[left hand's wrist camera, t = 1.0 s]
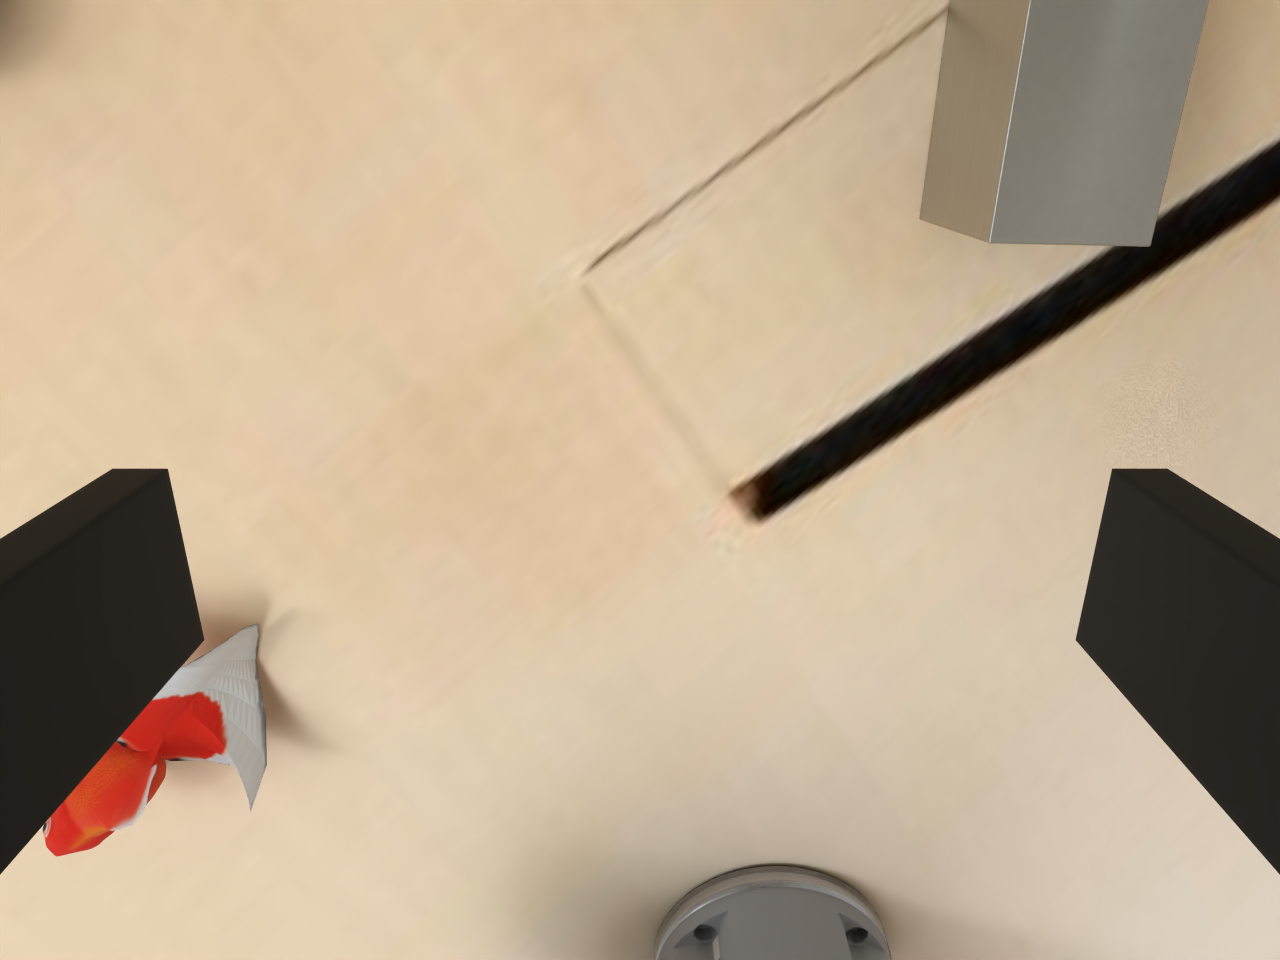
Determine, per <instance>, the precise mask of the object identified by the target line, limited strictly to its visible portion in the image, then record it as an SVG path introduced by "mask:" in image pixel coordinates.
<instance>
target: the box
mask: <svg viewBox="0 0 1280 960" xmlns="http://www.w3.org/2000/svg"><path fill="white" fill-rule="evenodd" d="M1208 1H1209V0H950V2H949V10H948V17H947V24H946V31H945V39H944V46H943V53H942V60H941V68H940V75H939V82H938V89H937V97H936V104H935V111H934V118H933V126H932V133H931V140H930V148H929V155H928V162H927V169H926V177H925V184H924V191H923V198H922V206H921V213H920V219H921V220H923V221H926V222H929V223H932V224H935V225H938V226H941V227H944V228H947V229H950V230H953V231H956V232H959V233H962V234H965V235H967V236H970V237H973V238H976V239H979V240H982V241H985V242H988V243H1010V244H1057V245H1104V246H1150V245H1151V241H1152V237H1153V232H1154V228H1155V224H1156V220H1157V216H1158V211H1159V207H1160V203H1161V199H1162V195H1163V190H1164V186H1165V182H1166V178H1167V174H1168V169H1169V165H1170V161H1171V157H1172V153H1173V148H1174V144H1175V140H1176V136H1177V131H1178V127H1179V123H1180V119H1181V115H1182V110H1183V106H1184V102H1185V98H1186V94H1187V89H1188V85H1189V81H1190V77H1191V73H1192V68H1193V64H1194V60H1195V56H1196V52H1197V47H1198V43H1199V39H1200V35H1201V31H1202V26H1203V22H1204V18H1205V14H1206V10H1207V5H1208Z"/></svg>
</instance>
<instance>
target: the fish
mask: <svg viewBox="0 0 1280 960" xmlns="http://www.w3.org/2000/svg"><path fill="white" fill-rule="evenodd" d="M258 635H259V627H258V624H255V625H252V626H248V627H245V628H243V629H242V630H240V631H239V632H237V633H236V634H234V635H233V636H232V637H230V638H229V639H228V640H226V641H225V642H224V643H222V644H221V645H219V646H218V647H216V648H215V649H213V650H211V651H210V652H208V653H206V654H205V655H203V656H201V657H199V658H198V659H196V660H194V661H193V662H191V663H189V664H187V665H186V666H183V667H180V668H179V670H178V671H177V672H176V673H175V674H174V675H173V676H172V678H171V679H170V680H169V681H168V682H167V683H166V685H165V686H164V687H163V688H162V689H161V690H160V691H159V693H158V694H157V695H156V696H155V697H154V698H153V699H152V701H151V702H150V703H149V704H148V705H147V706H146V708H145V709H144V710H143V711H142V712H141V713H140V714H139V716H138V717H137V718H136V719H135V720H134V721H133V722H132V724H131V725H130V726H129V727H128V728H127V729H126V730H125V732H124V733H123V734H122V735H121V736H120V737H119V739H118V740H117V741H116V742H115V743H114V744H113V745H112V747H111V748H110V749H109V750H108V751H107V752H106V753H105V755H104V756H103V757H102V758H101V759H100V760H99V762H98V763H97V764H96V765H95V766H94V767H93V768H92V770H91V771H90V772H89V773H88V774H87V775H86V776H85V778H84V779H83V780H82V781H81V782H80V783H79V784H78V786H77V787H76V788H75V789H74V790H73V791H72V793H71V794H70V795H69V796H68V797H67V798H66V799H65V801H64V802H63V803H62V804H61V805H60V806H59V807H58V809H57V810H56V811H55V812H54V813H53V814H52V815H51V817H50V818H49V819H48V820H47V821H46V822H45V824H44V826H43V834H44V837H45V841H46V846H47V848H48V849H49V850H50V851H51V852H52V853H53V854H54V855H55V856H62V855H66V854H70V853H74V852H79V851H84V850H88V849H92V848H94V847H95V846H97V845H99V844H100V843H101V842H102V841H103V840H104V839H105V838H107V837H108V836H109V835H111V834H112V833H113V832H114V831H115V830H118V829H122V828H125V827H128V826H131V825H132V824H133V823H134V822H135V821H136V820H137V819H138V818H139V817H140V815H141V813H142V812H143V810H144V808H145V806H146V804H147V803H148V802H149V801H150V800H151V798H152V797H153V796H154V794H155V793H156V791H157V790H158V788H159V786H160V785H161V783H162V781H163V780H164V778H165V774H166V763H165V760H164V759H166V760H169V761H186V760H208V761H212V762H216V763H221V764H227V765H232V766H233V767H234V768H235V769H236V771H237V772H238V774H239V776H240V777H241V779H242V781H243V784H244V787H245V789H246V793H247V796H248V799H249V805H250V811H251V809H252V806H253V803H254V800H255V797H256V794H257V792H258V789H259V786H260V783H261V780H262V777H263V774H264V771H265V768H266V765H267V752H266V716H265V711H264V705H263V699H262V694H261V688H260V682H259V676H258V670H257V664H256V655H257V648H258Z"/></svg>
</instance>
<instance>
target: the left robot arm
mask: <svg viewBox="0 0 1280 960" xmlns="http://www.w3.org/2000/svg"><path fill="white" fill-rule="evenodd" d="M203 641H204V636H203V632H202V627H201V622H200V618H199V613H198V608H197V603H196V599H195V594H194V589H193V585H192V580H191V575H190V571H189V566H188V561H187V557H186V552H185V547H184V543H183V538H182V533H181V529H180V524H179V519H178V515H177V510H176V505H175V500H174V496H173V491H172V486H171V482H170V477H169V472H168V469H111V470H110V471H108V472H107V473H105V474H103V475H102V476H100V477H99V478H97V479H95V480H94V481H92V482H91V483H89V484H87V485H86V486H84V487H83V488H81V489H79V490H78V491H76V492H75V493H73V494H71V495H70V496H68V497H67V498H65V499H63V500H62V501H60V502H59V503H57V504H55V505H54V506H52V507H51V508H49V509H47V510H46V511H44V512H43V513H41V514H39V515H38V516H36V517H35V518H33V519H31V520H30V521H28V522H27V523H25V524H23V525H22V526H20V527H19V528H17V529H15V530H14V531H12V532H11V533H9V534H7V535H6V536H4V537H3V538H1V539H0V874H1V873H2V872H3V871H4V869H5V868H6V867H7V866H8V865H9V864H10V863H11V861H12V860H13V859H14V858H15V857H16V856H17V855H18V853H19V852H20V851H21V850H22V849H23V848H24V847H25V845H26V844H27V843H28V842H29V841H30V840H31V838H32V837H33V836H34V835H35V834H36V833H37V832H38V830H39V829H40V828H41V827H42V826H43V825H44V824H45V822H46V821H47V820H48V819H49V818H50V817H51V815H52V814H53V813H54V812H55V811H56V810H57V809H58V807H59V806H60V805H61V804H62V803H63V802H64V801H65V799H66V798H67V797H68V796H69V795H70V794H71V793H72V791H73V790H74V789H75V788H76V787H77V786H78V784H79V783H80V782H81V781H82V780H83V779H84V778H85V776H86V775H87V774H88V773H89V772H90V771H91V770H92V768H93V767H94V766H95V765H96V764H97V763H98V762H99V760H100V759H101V758H102V757H103V756H104V755H105V753H106V752H107V751H108V750H109V749H110V748H111V747H112V745H113V744H114V743H115V742H116V741H117V740H118V739H119V737H120V736H121V735H122V734H123V733H124V732H125V730H126V729H127V728H128V727H129V726H130V725H131V724H132V722H133V721H134V720H135V719H136V718H137V717H138V716H139V714H140V713H141V712H142V711H143V710H144V709H145V708H146V706H147V705H148V704H149V703H150V702H151V701H152V699H153V698H154V697H155V696H156V695H157V694H158V693H159V691H160V690H161V689H162V688H163V687H164V686H165V685H166V683H167V682H168V681H169V680H170V679H171V678H172V676H173V675H174V674H175V673H176V672H177V671H178V670H179V668H180V667H181V666H182V665H183V664H184V663H185V662H186V660H187V659H188V658H189V657H190V656H191V655H192V654H193V652H194V651H195V650H196V649H197V648H198V647H199V645H200V644H201V643H202V642H203ZM1076 641H1077V642H1078V643H1079V644H1080V645H1081V647H1082V648H1083V649H1084V650H1085V651H1086V652H1087V654H1088V655H1089V656H1090V657H1091V658H1092V659H1093V660H1094V662H1095V663H1096V664H1097V665H1098V666H1099V667H1100V668H1101V670H1102V671H1103V672H1104V673H1105V674H1106V675H1107V676H1108V678H1109V679H1110V680H1111V681H1112V682H1113V683H1114V685H1115V686H1116V687H1117V688H1118V689H1119V690H1120V691H1121V693H1122V694H1123V695H1124V696H1125V697H1126V698H1127V699H1128V701H1129V702H1130V703H1131V704H1132V705H1133V706H1134V708H1135V709H1136V710H1137V711H1138V712H1139V713H1140V714H1141V716H1142V717H1143V718H1144V719H1145V720H1146V721H1147V722H1148V724H1149V725H1150V726H1151V727H1152V728H1153V729H1154V730H1155V732H1156V733H1157V734H1158V735H1159V736H1160V737H1161V739H1162V740H1163V741H1164V742H1165V743H1166V744H1167V745H1168V747H1169V748H1170V749H1171V750H1172V751H1173V752H1174V753H1175V755H1176V756H1177V757H1178V758H1179V759H1180V760H1181V762H1182V763H1183V764H1184V765H1185V766H1186V767H1187V768H1188V770H1189V771H1190V772H1191V773H1192V774H1193V775H1194V776H1195V778H1196V779H1197V780H1198V781H1199V782H1200V783H1201V784H1202V786H1203V787H1204V788H1205V789H1206V790H1207V791H1208V793H1209V794H1210V795H1211V796H1212V797H1213V798H1214V799H1215V801H1216V802H1217V803H1218V804H1219V805H1220V806H1221V807H1222V809H1223V810H1224V811H1225V812H1226V813H1227V814H1228V815H1229V817H1230V818H1231V819H1232V820H1233V821H1234V822H1235V824H1236V825H1237V826H1238V827H1239V828H1240V829H1241V830H1242V832H1243V833H1244V834H1245V835H1246V836H1247V837H1248V838H1249V840H1250V841H1251V842H1252V843H1253V844H1254V845H1255V847H1256V848H1257V849H1258V850H1259V851H1260V852H1261V853H1262V855H1263V856H1264V857H1265V858H1266V859H1267V860H1268V861H1269V863H1270V864H1271V865H1272V866H1273V867H1274V868H1275V869H1276V871H1277V872H1278V873H1279V874H1280V539H1279V538H1277V537H1276V536H1274V535H1273V534H1271V533H1269V532H1268V531H1266V530H1265V529H1263V528H1261V527H1260V526H1258V525H1257V524H1255V523H1253V522H1252V521H1250V520H1249V519H1247V518H1245V517H1244V516H1242V515H1241V514H1239V513H1237V512H1236V511H1234V510H1233V509H1231V508H1229V507H1228V506H1226V505H1225V504H1223V503H1221V502H1220V501H1218V500H1217V499H1215V498H1213V497H1212V496H1210V495H1209V494H1207V493H1205V492H1204V491H1202V490H1201V489H1199V488H1197V487H1196V486H1194V485H1193V484H1191V483H1189V482H1188V481H1186V480H1185V479H1183V478H1181V477H1180V476H1178V475H1177V474H1175V473H1173V472H1172V471H1170V470H1169V469H1112V472H1111V477H1110V482H1109V486H1108V491H1107V496H1106V500H1105V505H1104V510H1103V515H1102V519H1101V524H1100V529H1099V533H1098V538H1097V543H1096V547H1095V552H1094V557H1093V561H1092V566H1091V571H1090V575H1089V580H1088V585H1087V589H1086V594H1085V599H1084V603H1083V608H1082V613H1081V618H1080V622H1079V627H1078V632H1077V636H1076ZM654 958H655V960H891V955H890V950H889V947H888V943H887V940H886V937H885V933H884V930H883V927H882V924H881V921H880V919H879V917H878V915H877V913H876V912H875V910H874V909H873V907H872V906H871V905H870V903H869V902H868V901H867V900H866V899H865V898H864V897H863V896H862V895H861V894H860V893H858V892H857V891H856V890H855V889H853V888H852V887H850V886H849V885H847V884H845V883H844V882H842V881H840V880H838V879H836V878H834V877H831V876H829V875H826V874H823V873H820V872H816V871H813V870H808V869H803V868H797V867H786V866H765V867H755V868H749V869H743V870H739V871H735V872H731V873H728V874H725V875H722V876H719V877H717V878H715V879H712V880H710V881H708V882H706V883H704V884H702V885H700V886H699V887H697V888H696V889H694V890H693V891H691V892H690V893H688V894H687V895H686V896H685V897H683V898H682V899H681V900H680V901H679V902H678V903H677V904H676V905H675V906H674V907H673V908H672V910H671V911H670V912H669V913H668V915H667V916H666V918H665V919H664V921H663V923H662V925H661V927H660V929H659V932H658V934H657V938H656V942H655V950H654Z"/></svg>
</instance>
